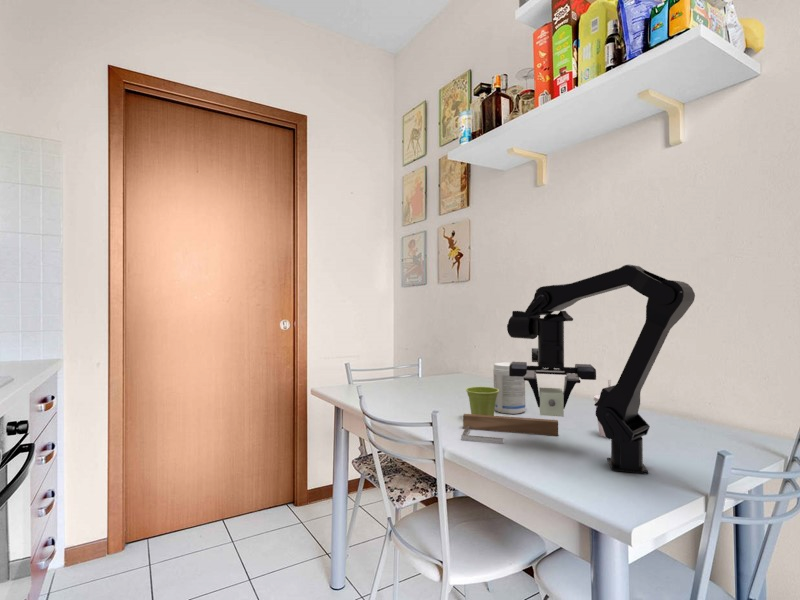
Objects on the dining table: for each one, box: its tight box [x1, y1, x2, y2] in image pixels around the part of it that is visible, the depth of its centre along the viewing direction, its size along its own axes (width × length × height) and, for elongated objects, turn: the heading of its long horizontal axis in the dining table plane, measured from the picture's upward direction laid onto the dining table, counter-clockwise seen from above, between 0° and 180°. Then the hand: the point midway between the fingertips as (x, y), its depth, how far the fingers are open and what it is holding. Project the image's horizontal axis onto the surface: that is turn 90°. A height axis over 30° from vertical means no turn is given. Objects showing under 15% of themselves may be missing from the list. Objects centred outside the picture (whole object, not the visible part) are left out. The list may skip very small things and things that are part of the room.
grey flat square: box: [460, 426, 504, 444], centre depth 111 cm, size 10×10×1 cm
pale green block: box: [538, 387, 565, 418], centre depth 102 cm, size 8×5×5 cm, turn 164°
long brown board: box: [462, 413, 559, 437], centre depth 116 cm, size 2×24×4 cm, turn 74°
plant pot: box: [465, 386, 499, 416], centre depth 127 cm, size 9×9×9 cm
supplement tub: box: [492, 361, 526, 415], centre depth 138 cm, size 10×10×15 cm
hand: (551, 407), depth 102 cm, fingers closed on pale green block, 5 cm apart
